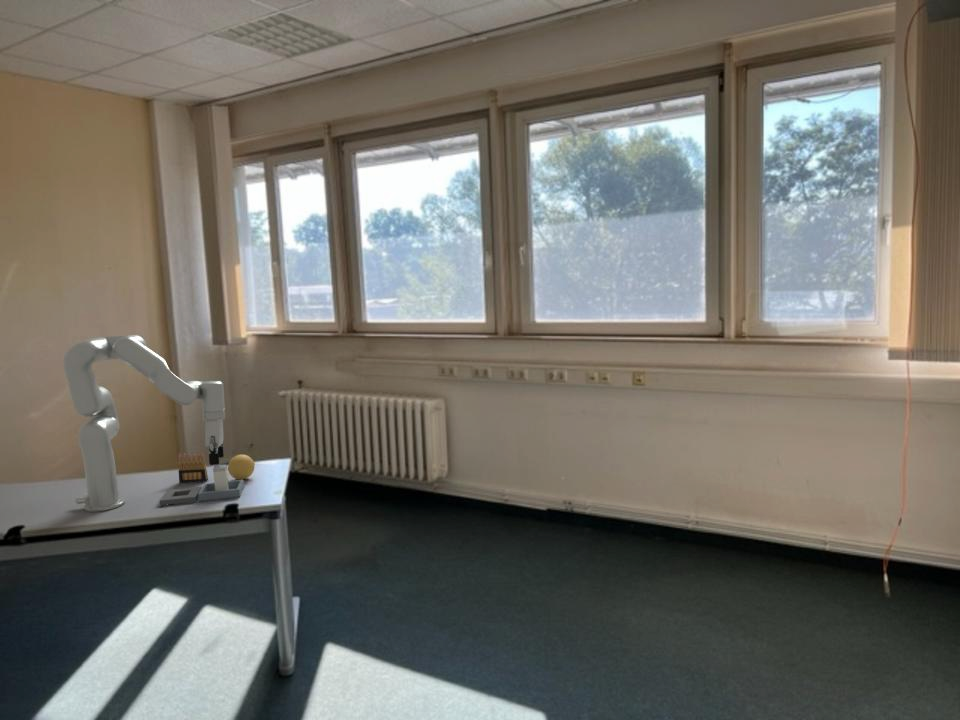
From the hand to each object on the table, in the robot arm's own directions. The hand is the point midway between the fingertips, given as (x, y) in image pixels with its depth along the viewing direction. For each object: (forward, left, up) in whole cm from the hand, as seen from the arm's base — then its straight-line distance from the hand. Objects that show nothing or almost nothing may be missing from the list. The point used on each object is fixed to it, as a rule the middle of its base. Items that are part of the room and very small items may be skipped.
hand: (216, 460), depth 240 cm
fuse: (+1, 0, -12) cm, 12 cm away
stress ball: (+6, +17, -13) cm, 22 cm away
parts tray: (+1, 0, -13) cm, 13 cm away
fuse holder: (-13, 0, -13) cm, 18 cm away
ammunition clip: (-13, +21, -13) cm, 28 cm away
